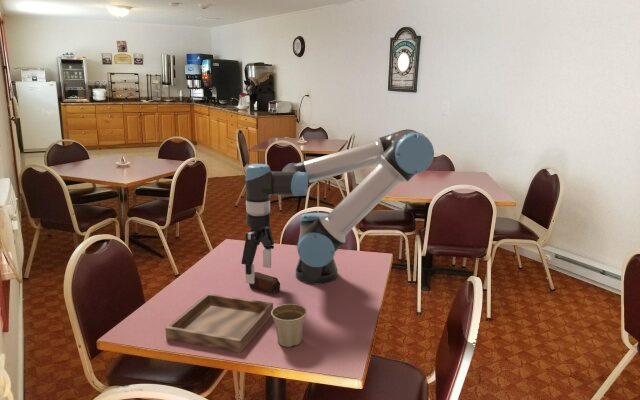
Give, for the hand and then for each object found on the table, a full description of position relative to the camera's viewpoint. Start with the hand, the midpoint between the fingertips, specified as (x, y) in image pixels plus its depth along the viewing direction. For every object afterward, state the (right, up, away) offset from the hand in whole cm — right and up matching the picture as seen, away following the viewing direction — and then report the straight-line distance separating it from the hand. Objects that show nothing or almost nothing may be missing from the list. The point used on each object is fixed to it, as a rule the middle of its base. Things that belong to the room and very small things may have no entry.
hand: (258, 274), depth 151 cm
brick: (+1, -6, +3) cm, 6 cm away
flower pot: (+12, -13, -28) cm, 33 cm away
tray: (-8, -11, -21) cm, 25 cm away
